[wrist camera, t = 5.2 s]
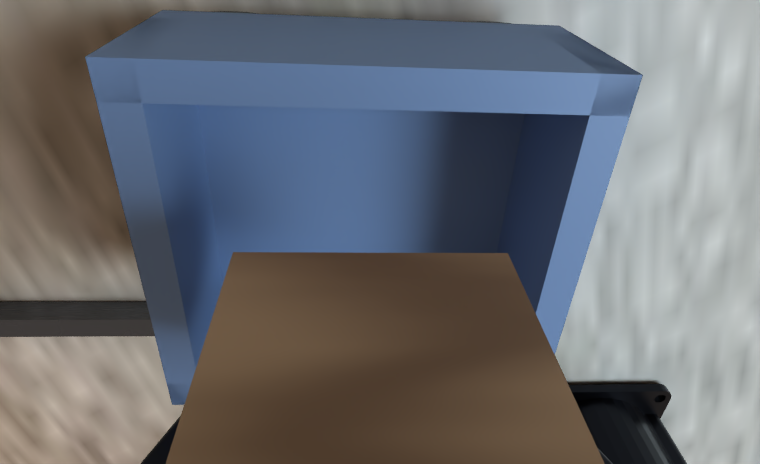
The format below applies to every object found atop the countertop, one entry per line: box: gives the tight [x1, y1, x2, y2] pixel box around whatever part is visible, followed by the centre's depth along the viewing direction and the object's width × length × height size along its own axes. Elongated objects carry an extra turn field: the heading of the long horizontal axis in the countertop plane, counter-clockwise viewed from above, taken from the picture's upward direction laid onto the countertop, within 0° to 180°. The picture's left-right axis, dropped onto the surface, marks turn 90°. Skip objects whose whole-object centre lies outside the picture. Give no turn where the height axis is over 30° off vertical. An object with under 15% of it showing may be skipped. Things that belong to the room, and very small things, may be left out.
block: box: [166, 252, 605, 464], centre depth 8 cm, size 4×4×4 cm
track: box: [0, 302, 565, 337], centre depth 15 cm, size 28×14×4 cm, turn 87°
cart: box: [85, 10, 643, 405], centre depth 14 cm, size 10×9×6 cm
